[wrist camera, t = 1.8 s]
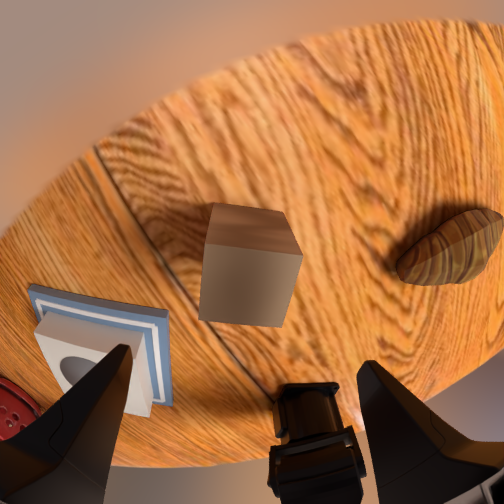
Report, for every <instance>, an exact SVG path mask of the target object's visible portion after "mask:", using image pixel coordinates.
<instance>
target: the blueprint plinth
mask: <svg viewBox="0 0 504 504" xmlns="http://www.w3.org/2000/svg"><path fill="white" fill-rule="evenodd" d="M28 293H29V296H30V300H31V303H32V306H33V308H34V311H35V314H36V317H37V320H38V322H39V324H38V326H37V327H36V329H35V331H34V335H35V337H36V339H37V342H38V344H39V346H40V348H41V350H42V352H43V355H44V357H45V359H46V361H47V363H48V365H49V367H50V369H51V370H52V372H53V374H54V376H55V378H56V380H57V382H58V383H59V385H60V387H61V389H62V390H63V392H64V394H65V393H66V392H67V391H68V390H69V389H70V388H71V387H72V386H73V385H75V384H76V383H77V382H78V381H79V380H80V379H81V378H82V377H83V376H84V375H85V374H86V373H87V372H88V371H90V370H91V369H92V368H93V367H94V366H95V365H96V364H97V363H98V362H99V361H100V360H101V359H102V358H104V357H105V356H106V355H107V354H108V353H109V352H110V351H111V350H112V349H113V348H114V347H116V346H117V345H118V344H120V343H122V344H127V345H129V346H130V347H131V352H132V357H133V367H132V373H131V379H130V384H129V391H128V397H127V402H126V406H125V409H124V413H129V414H133V415H138V416H143V417H148V418H149V417H150V412H151V406H152V403H154V404H159V405H166V406H172V407H173V388H172V376H171V360H170V340H169V310H164V309H157V308H150V307H144V306H138V305H132V304H126V303H120V302H115V301H109V300H104V299H99V298H94V297H89V296H84V295H79V294H74V293H70V292H65V291H61V290H56V289H52V288H48V287H44V286H40V285H36V284H32V285H31V286H30V287H29V288H28Z"/></svg>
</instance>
